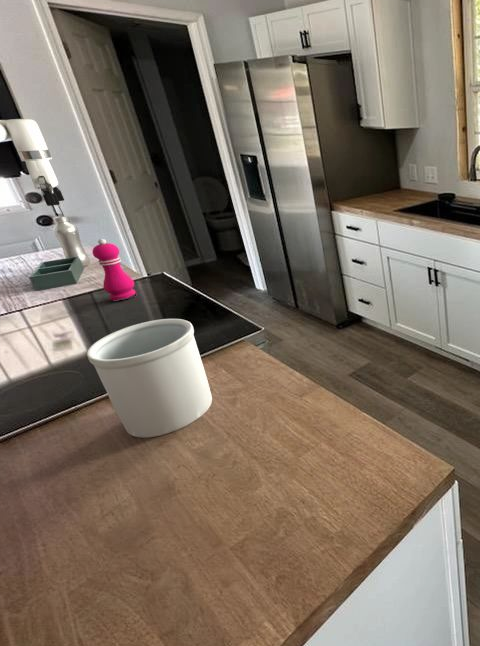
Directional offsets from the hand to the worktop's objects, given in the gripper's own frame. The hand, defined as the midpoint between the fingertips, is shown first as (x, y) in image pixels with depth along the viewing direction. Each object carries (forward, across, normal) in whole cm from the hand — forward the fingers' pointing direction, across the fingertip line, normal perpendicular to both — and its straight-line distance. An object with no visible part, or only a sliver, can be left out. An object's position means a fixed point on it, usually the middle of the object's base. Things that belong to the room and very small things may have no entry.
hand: (56, 203), depth 153 cm
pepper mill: (+26, +51, +14) cm, 59 cm away
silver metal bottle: (+25, 0, -1) cm, 25 cm away
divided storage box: (+25, +14, -5) cm, 29 cm away
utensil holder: (+26, +131, +26) cm, 136 cm away
